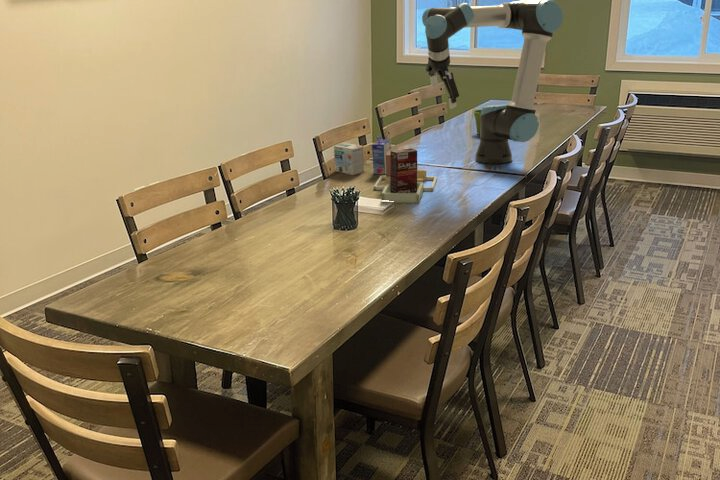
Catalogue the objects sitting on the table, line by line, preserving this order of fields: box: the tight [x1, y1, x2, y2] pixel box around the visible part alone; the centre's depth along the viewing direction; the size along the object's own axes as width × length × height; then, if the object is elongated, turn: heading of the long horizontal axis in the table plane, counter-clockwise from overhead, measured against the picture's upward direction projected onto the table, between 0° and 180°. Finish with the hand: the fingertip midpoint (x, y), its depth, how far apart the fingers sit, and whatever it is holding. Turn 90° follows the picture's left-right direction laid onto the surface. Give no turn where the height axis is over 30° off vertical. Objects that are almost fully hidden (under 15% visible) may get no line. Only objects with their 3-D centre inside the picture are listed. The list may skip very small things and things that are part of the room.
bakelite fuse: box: [385, 150, 392, 177], centre depth 256 cm, size 4×6×12 cm, turn 169°
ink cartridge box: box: [371, 134, 392, 175], centre depth 275 cm, size 10×6×14 cm, turn 161°
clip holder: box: [373, 169, 438, 192], centre depth 257 cm, size 22×16×4 cm
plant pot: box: [472, 108, 482, 135], centre depth 338 cm, size 12×12×11 cm
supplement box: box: [390, 148, 418, 193], centre depth 239 cm, size 9×5×16 cm, turn 117°
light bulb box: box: [333, 142, 365, 176], centre depth 277 cm, size 11×7×11 cm, turn 47°
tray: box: [380, 182, 424, 204], centre depth 242 cm, size 13×15×3 cm
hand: (444, 97), depth 267 cm, fingers open, 13 cm apart
